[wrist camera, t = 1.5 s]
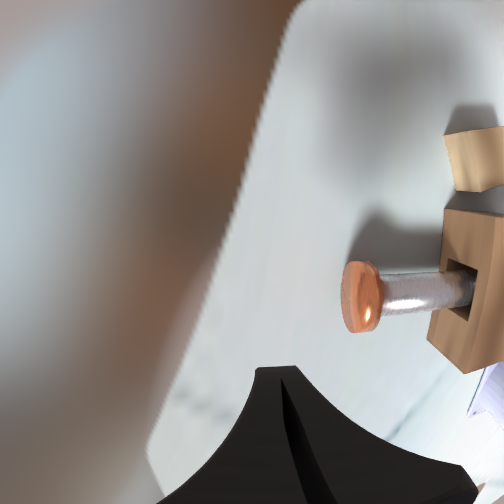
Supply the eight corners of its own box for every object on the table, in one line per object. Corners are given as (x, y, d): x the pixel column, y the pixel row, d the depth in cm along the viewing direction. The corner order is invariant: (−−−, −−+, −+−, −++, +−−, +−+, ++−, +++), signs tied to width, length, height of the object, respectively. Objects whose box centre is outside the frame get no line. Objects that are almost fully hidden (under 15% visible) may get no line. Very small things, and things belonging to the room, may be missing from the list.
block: (483, 129, 17) (507, 125, 14) (493, 178, 18) (518, 179, 15) (441, 135, 17) (467, 131, 14) (454, 190, 18) (480, 192, 15)
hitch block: (495, 212, 18) (542, 222, 13) (477, 329, 20) (515, 356, 15) (444, 208, 18) (495, 217, 13) (426, 339, 20) (464, 374, 15)
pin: (481, 251, 18) (516, 263, 14) (473, 301, 19) (505, 319, 15) (343, 254, 18) (368, 272, 14) (338, 316, 19) (359, 345, 15)
